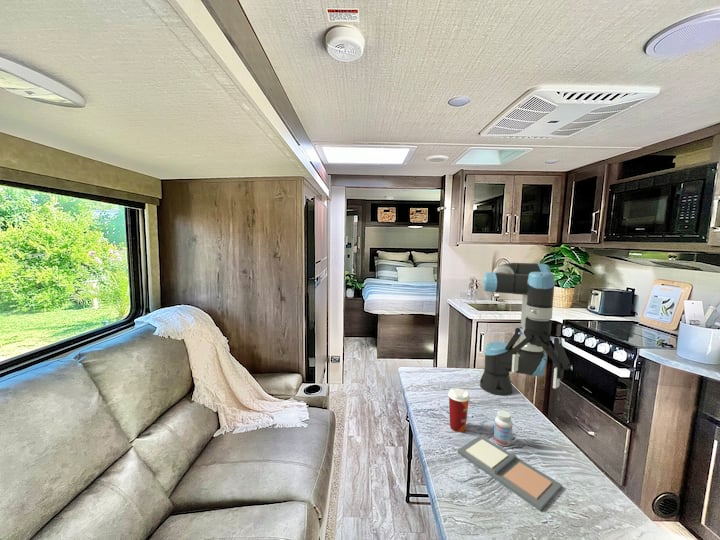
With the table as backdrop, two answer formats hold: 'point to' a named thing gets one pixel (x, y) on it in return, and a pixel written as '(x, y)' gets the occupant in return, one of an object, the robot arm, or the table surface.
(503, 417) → the pill bottle
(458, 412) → the coffee cup
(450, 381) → the table surface
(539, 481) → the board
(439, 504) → the table surface
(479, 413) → the table surface
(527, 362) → the robot arm
